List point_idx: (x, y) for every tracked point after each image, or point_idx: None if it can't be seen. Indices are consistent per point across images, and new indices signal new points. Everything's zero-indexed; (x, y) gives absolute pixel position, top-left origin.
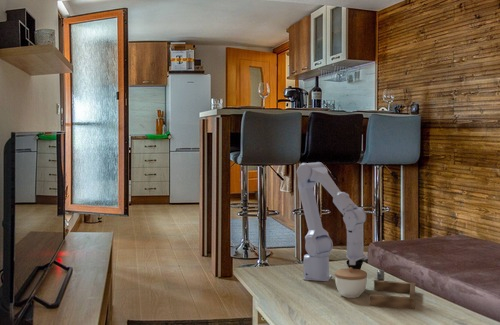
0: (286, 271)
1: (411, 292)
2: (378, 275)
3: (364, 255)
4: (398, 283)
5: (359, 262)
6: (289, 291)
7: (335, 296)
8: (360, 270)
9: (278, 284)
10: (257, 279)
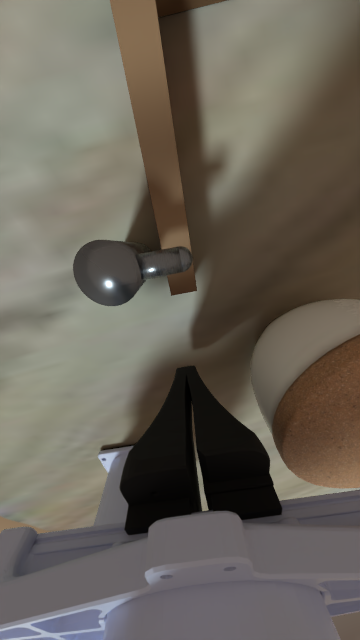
0: None
1: None
2: (143, 281)
3: (207, 577)
4: (166, 88)
5: (230, 471)
6: (291, 471)
7: None
8: (352, 395)
9: None
10: None
